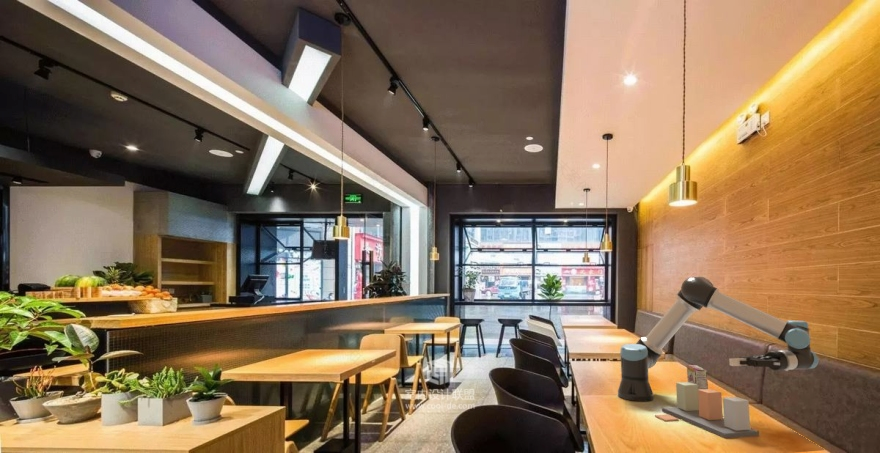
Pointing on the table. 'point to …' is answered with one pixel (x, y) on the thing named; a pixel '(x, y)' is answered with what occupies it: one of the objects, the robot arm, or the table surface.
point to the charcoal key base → (708, 423)
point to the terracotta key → (710, 404)
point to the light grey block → (736, 413)
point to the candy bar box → (697, 376)
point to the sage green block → (687, 396)
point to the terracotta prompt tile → (667, 417)
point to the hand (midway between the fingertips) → (731, 362)
